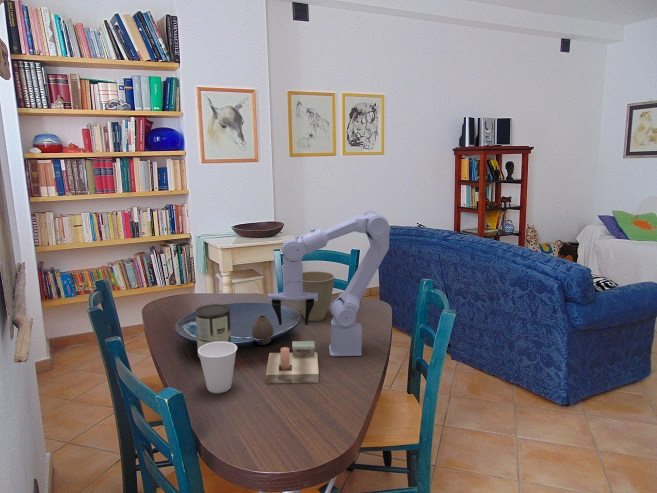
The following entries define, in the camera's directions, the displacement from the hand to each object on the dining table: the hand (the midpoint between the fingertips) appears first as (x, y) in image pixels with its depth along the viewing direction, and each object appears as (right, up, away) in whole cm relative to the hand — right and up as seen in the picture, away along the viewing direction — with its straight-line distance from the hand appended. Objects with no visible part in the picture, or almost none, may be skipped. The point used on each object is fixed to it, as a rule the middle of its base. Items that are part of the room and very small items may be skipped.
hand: (293, 323), depth 147 cm
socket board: (+1, -12, -9) cm, 15 cm away
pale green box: (+3, -11, -4) cm, 12 cm away
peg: (-1, -13, -12) cm, 17 cm away
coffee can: (-24, -10, +3) cm, 26 cm away
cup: (-18, -14, -18) cm, 29 cm away
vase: (-11, -8, +11) cm, 17 cm away
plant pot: (+5, -3, +34) cm, 34 cm away
